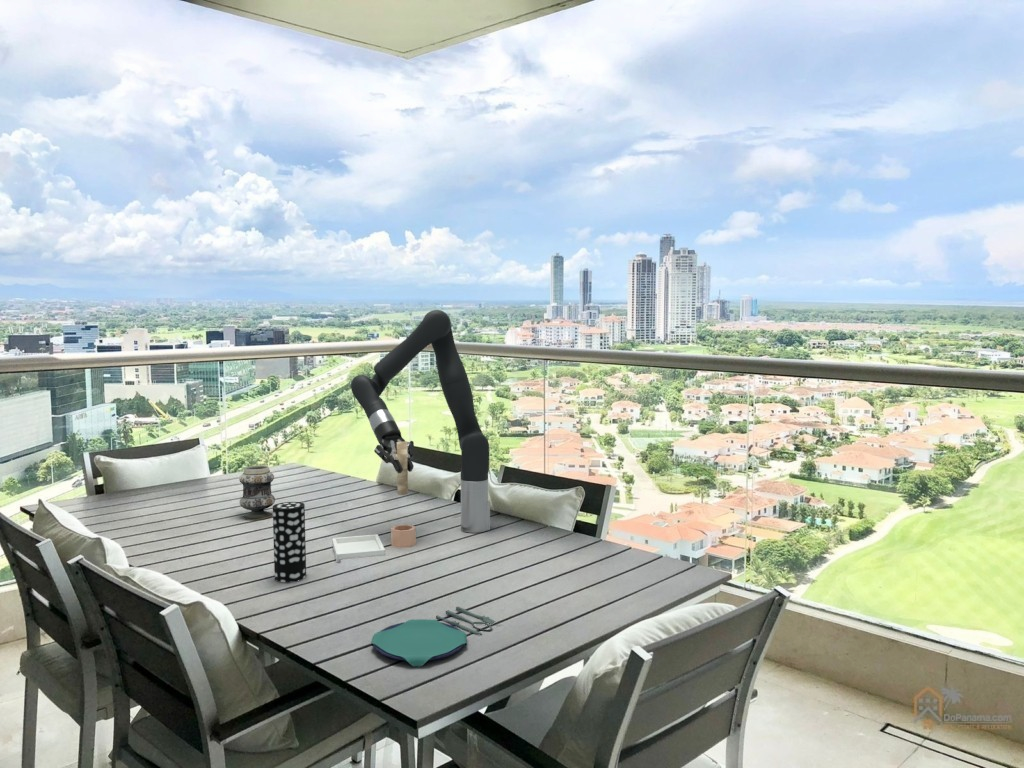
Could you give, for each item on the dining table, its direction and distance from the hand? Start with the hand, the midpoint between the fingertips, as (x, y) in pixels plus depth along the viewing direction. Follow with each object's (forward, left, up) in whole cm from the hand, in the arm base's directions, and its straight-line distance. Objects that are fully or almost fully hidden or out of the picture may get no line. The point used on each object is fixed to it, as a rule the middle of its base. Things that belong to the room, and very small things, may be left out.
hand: (406, 470), depth 226 cm
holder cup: (+1, -2, -24) cm, 24 cm away
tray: (+15, -1, -24) cm, 28 cm away
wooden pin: (+1, -2, -7) cm, 8 cm away
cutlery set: (+5, +67, -25) cm, 72 cm away
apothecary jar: (+45, -54, -24) cm, 74 cm away
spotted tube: (+35, +16, -24) cm, 45 cm away
